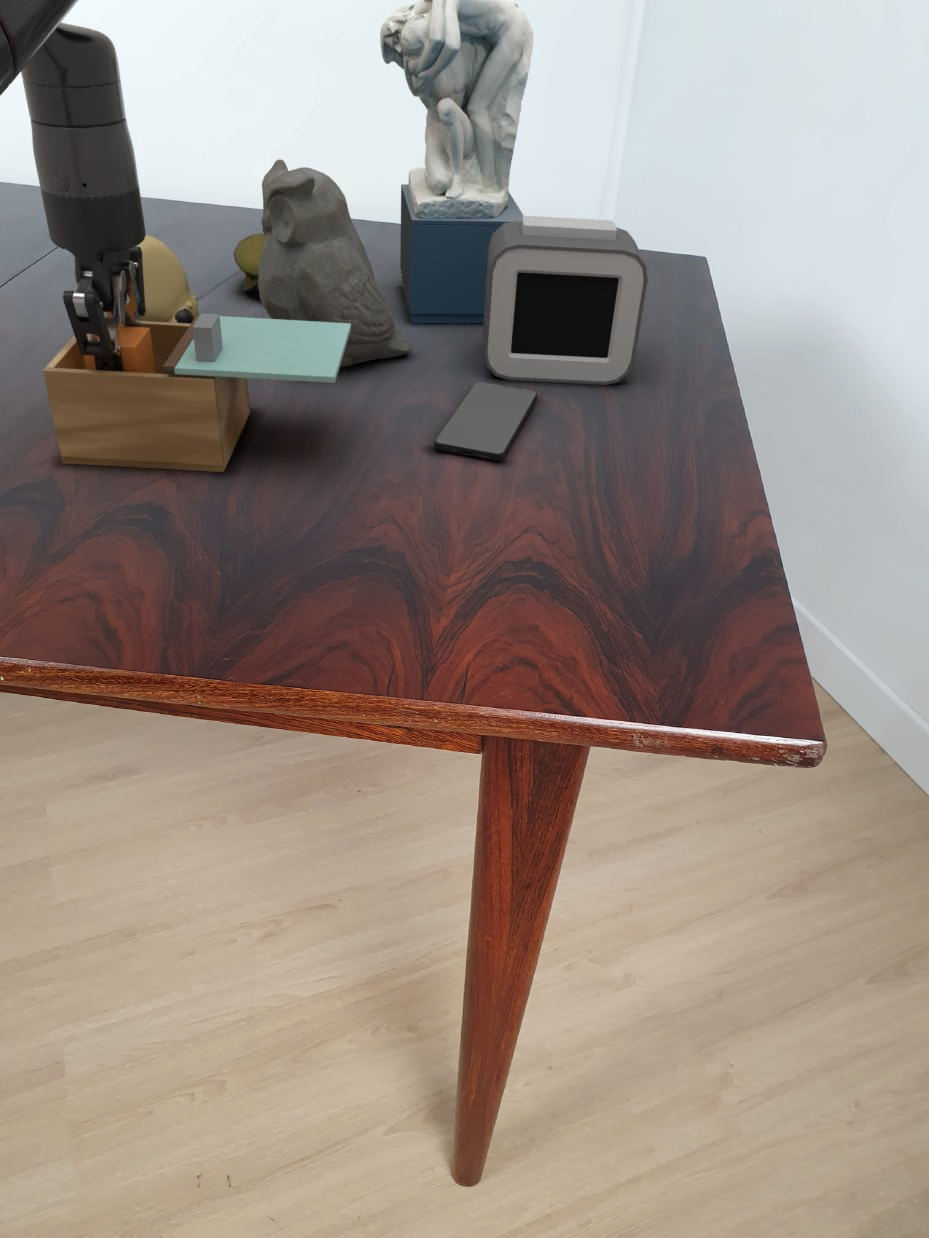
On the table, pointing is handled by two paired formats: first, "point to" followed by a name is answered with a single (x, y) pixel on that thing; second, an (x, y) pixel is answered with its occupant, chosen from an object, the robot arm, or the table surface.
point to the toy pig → (165, 285)
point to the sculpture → (458, 145)
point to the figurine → (321, 264)
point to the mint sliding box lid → (260, 349)
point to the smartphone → (486, 421)
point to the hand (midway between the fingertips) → (123, 381)
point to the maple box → (145, 411)
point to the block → (132, 351)
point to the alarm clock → (563, 301)
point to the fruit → (250, 259)
